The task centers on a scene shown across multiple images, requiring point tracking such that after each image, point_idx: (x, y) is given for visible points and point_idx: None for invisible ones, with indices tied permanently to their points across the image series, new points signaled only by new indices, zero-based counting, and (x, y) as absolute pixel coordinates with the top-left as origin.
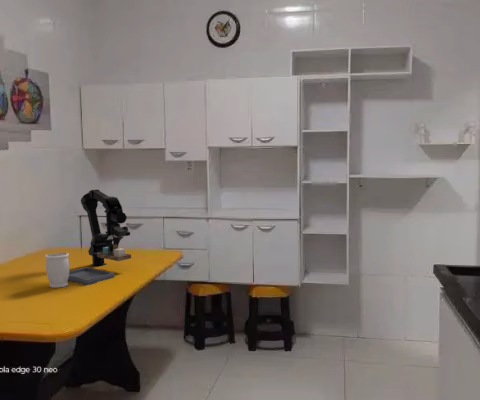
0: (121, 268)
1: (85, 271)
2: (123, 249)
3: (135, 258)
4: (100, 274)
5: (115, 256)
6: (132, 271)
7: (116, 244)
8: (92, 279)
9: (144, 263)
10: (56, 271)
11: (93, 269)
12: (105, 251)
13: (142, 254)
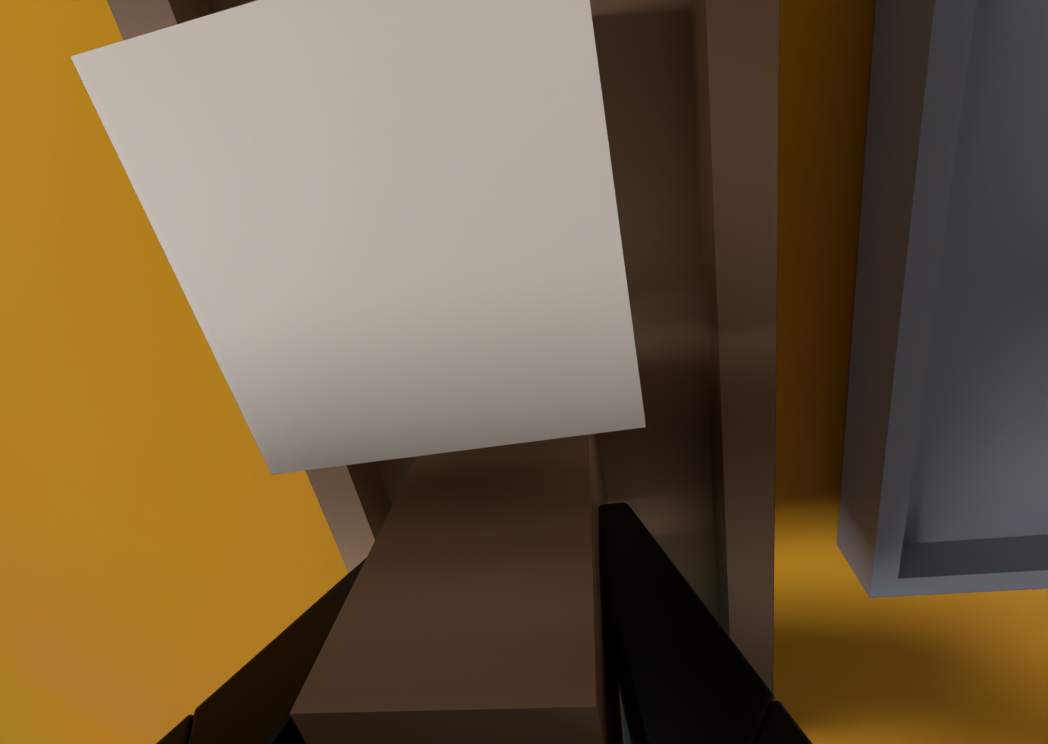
0: None
1: (939, 506)
2: (186, 32)
3: (102, 639)
4: (976, 128)
5: (737, 23)
6: None
7: (327, 715)
8: None
9: (40, 375)
10: None
11: (912, 422)
12: None
13: (5, 706)
